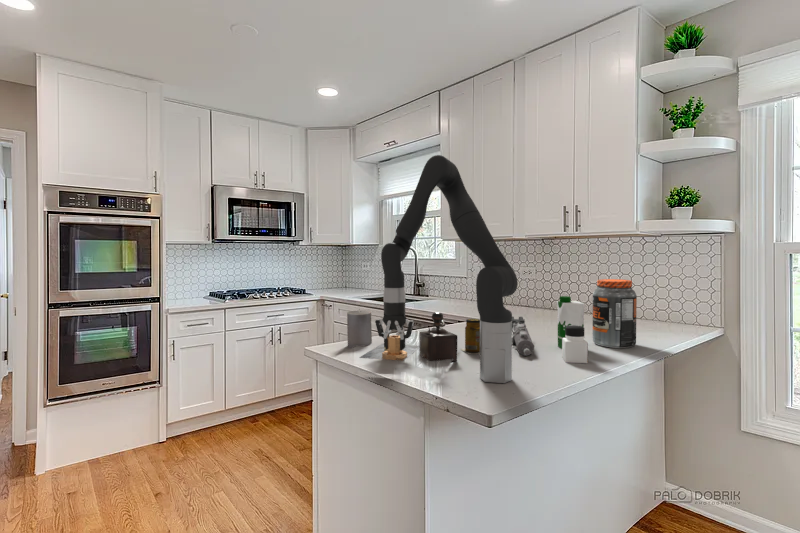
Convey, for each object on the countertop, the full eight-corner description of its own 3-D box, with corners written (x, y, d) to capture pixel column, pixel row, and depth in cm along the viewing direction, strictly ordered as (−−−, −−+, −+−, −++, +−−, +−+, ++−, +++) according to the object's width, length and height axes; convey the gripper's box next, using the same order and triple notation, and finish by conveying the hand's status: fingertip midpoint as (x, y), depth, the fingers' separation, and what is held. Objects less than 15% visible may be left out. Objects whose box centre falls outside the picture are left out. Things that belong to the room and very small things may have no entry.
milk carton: (554, 346, 172) (555, 295, 171) (577, 346, 171) (578, 295, 171) (562, 351, 163) (563, 298, 162) (587, 351, 163) (587, 297, 162)
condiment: (478, 348, 168) (478, 317, 168) (487, 353, 160) (487, 321, 159) (460, 349, 167) (460, 318, 166) (468, 354, 158) (468, 322, 158)
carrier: (403, 364, 145) (403, 343, 145) (359, 361, 150) (358, 340, 150) (421, 348, 168) (421, 330, 168) (382, 346, 173) (382, 328, 173)
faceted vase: (402, 360, 146) (402, 339, 146) (379, 358, 148) (379, 338, 148) (409, 354, 154) (409, 335, 153) (387, 353, 156) (387, 334, 156)
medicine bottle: (588, 363, 145) (588, 327, 144) (565, 362, 146) (565, 327, 146) (583, 358, 152) (583, 324, 151) (561, 357, 153) (562, 323, 153)
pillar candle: (353, 343, 180) (352, 307, 179) (375, 344, 177) (374, 307, 177) (343, 348, 171) (342, 310, 170) (367, 349, 168) (366, 311, 167)
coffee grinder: (416, 357, 154) (416, 307, 154) (445, 355, 158) (445, 305, 157) (434, 368, 140) (433, 313, 139) (465, 365, 143) (465, 311, 143)
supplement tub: (586, 340, 182) (587, 278, 181) (626, 340, 180) (626, 278, 180) (600, 348, 166) (600, 281, 165) (643, 349, 165) (644, 281, 164)
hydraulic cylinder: (523, 332, 188) (524, 310, 186) (536, 368, 152) (537, 342, 150) (506, 332, 189) (506, 310, 187) (515, 368, 153) (516, 341, 152)
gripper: (371, 301, 149) (371, 350, 149) (411, 302, 145) (411, 353, 145) (378, 298, 156) (379, 346, 157) (417, 299, 152) (417, 348, 152)
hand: (394, 349), depth 151 cm, fingers closed on faceted vase, 4 cm apart
